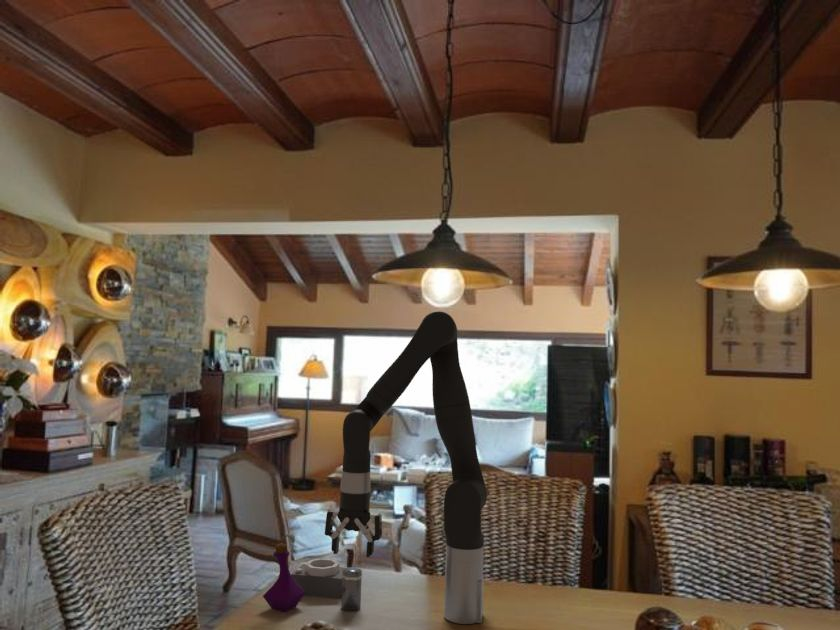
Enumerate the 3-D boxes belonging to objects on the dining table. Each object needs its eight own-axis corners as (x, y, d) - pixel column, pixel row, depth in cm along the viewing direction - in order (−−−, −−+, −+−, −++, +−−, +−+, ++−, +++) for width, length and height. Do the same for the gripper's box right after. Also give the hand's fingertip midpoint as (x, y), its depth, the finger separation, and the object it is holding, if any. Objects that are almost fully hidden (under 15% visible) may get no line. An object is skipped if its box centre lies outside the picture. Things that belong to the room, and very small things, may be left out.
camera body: (351, 586, 173) (352, 560, 174) (341, 598, 164) (342, 570, 165) (302, 582, 176) (303, 556, 176) (290, 593, 167) (291, 566, 167)
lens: (363, 605, 160) (364, 568, 161) (357, 612, 155) (359, 574, 156) (344, 603, 161) (345, 566, 162) (338, 610, 156) (339, 572, 157)
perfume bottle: (261, 609, 155) (265, 534, 157) (281, 600, 162) (285, 528, 163) (285, 616, 152) (289, 539, 153) (305, 606, 159) (308, 532, 160)
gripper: (386, 488, 163) (383, 553, 162) (333, 484, 166) (329, 548, 164) (379, 494, 156) (376, 562, 154) (323, 489, 158) (320, 556, 157)
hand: (352, 554), depth 159 cm, fingers open, 8 cm apart
